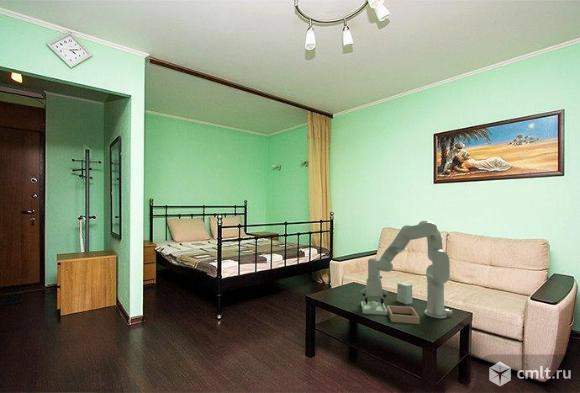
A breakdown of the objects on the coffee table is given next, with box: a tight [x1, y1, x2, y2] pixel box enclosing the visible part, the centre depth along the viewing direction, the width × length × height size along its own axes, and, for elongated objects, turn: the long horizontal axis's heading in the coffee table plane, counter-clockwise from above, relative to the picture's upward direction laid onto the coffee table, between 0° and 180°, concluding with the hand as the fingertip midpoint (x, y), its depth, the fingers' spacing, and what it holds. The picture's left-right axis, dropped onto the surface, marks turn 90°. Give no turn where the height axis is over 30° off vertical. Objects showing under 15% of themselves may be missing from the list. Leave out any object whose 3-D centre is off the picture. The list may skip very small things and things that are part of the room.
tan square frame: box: [386, 305, 420, 325], centre depth 171 cm, size 16×16×4 cm
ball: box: [370, 300, 378, 309], centre depth 183 cm, size 5×5×5 cm
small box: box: [396, 281, 413, 305], centre depth 198 cm, size 8×6×13 cm
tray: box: [360, 300, 389, 316], centre depth 183 cm, size 15×15×2 cm
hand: (374, 303), depth 183 cm, fingers open, 9 cm apart
